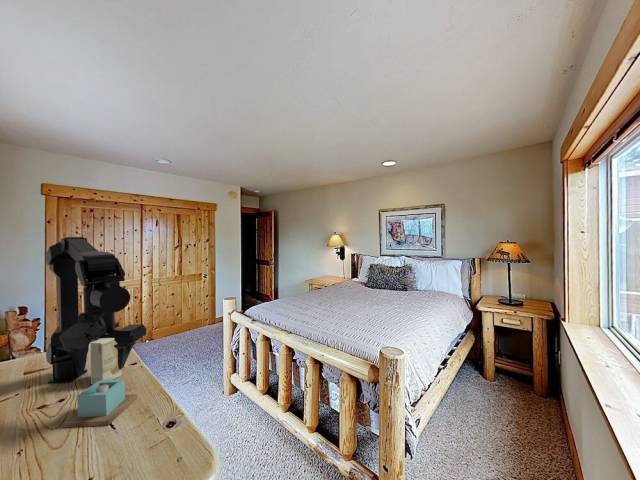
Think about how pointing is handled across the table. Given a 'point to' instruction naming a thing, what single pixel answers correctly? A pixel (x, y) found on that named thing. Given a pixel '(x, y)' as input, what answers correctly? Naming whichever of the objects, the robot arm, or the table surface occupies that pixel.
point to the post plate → (100, 420)
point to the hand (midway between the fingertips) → (101, 369)
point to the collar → (101, 399)
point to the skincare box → (104, 360)
